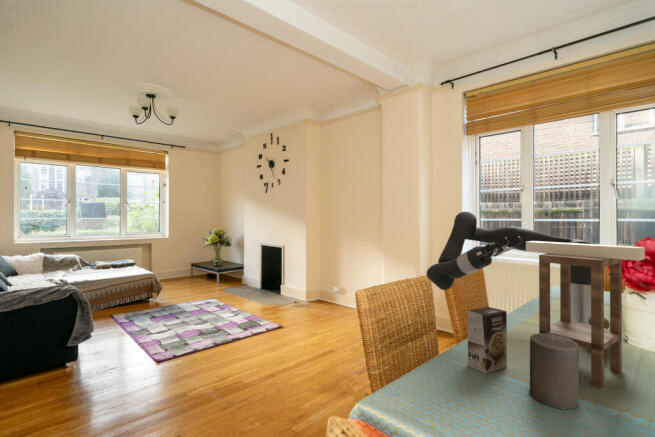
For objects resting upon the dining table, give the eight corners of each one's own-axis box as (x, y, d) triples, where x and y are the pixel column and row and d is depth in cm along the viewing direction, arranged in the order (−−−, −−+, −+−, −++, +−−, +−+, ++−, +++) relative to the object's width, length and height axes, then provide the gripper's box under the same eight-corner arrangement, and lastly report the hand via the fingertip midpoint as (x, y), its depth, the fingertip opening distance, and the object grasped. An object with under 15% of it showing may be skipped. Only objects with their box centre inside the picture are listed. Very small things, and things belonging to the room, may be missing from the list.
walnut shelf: (563, 353, 103) (562, 250, 102) (621, 371, 91) (621, 255, 91) (539, 367, 94) (539, 254, 93) (601, 388, 82) (600, 260, 82)
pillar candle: (520, 392, 81) (520, 331, 81) (546, 383, 85) (546, 325, 84) (561, 414, 72) (562, 346, 72) (588, 403, 76) (589, 339, 76)
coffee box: (486, 374, 90) (486, 315, 90) (466, 365, 96) (466, 309, 95) (508, 367, 94) (507, 310, 94) (487, 358, 100) (487, 305, 100)
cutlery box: (532, 250, 104) (532, 240, 104) (644, 259, 83) (644, 247, 83) (525, 251, 102) (525, 241, 102) (639, 260, 80) (639, 248, 80)
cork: (616, 357, 100) (616, 320, 100) (593, 355, 101) (593, 319, 101) (603, 349, 106) (603, 314, 106) (582, 347, 107) (582, 314, 107)
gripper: (457, 252, 116) (496, 230, 104) (480, 249, 124) (519, 228, 112) (467, 272, 113) (509, 251, 101) (489, 267, 121) (531, 248, 109)
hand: (514, 239), depth 107 cm, fingers open, 8 cm apart
